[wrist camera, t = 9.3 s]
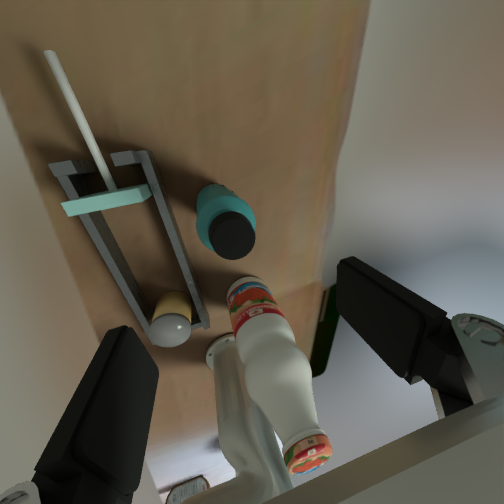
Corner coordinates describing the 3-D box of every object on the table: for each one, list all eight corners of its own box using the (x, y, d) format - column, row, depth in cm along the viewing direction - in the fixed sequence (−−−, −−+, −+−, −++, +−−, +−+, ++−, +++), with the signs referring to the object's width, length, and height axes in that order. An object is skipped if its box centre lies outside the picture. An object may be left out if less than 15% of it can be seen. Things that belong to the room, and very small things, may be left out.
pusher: (155, 192, 31) (143, 201, 24) (98, 204, 30) (68, 216, 23) (107, 64, 24) (71, 24, 17) (30, 71, 23) (-41, 32, 16)
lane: (209, 316, 44) (210, 337, 38) (156, 332, 42) (150, 356, 37) (151, 151, 29) (141, 148, 24) (66, 165, 27) (35, 165, 22)
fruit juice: (229, 315, 45) (269, 500, 20) (222, 281, 41) (259, 460, 16) (268, 304, 47) (349, 463, 22) (265, 270, 43) (359, 419, 18)
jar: (195, 312, 43) (195, 340, 36) (163, 321, 41) (156, 351, 35) (186, 286, 39) (184, 312, 33) (151, 296, 38) (141, 324, 32)
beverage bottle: (193, 216, 34) (188, 273, 17) (198, 177, 32) (199, 193, 14) (229, 222, 36) (260, 279, 19) (237, 185, 34) (280, 210, 16)
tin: (168, 491, 70) (164, 530, 63) (165, 488, 69) (161, 527, 61) (210, 474, 73) (211, 510, 65) (208, 471, 71) (209, 506, 64)
